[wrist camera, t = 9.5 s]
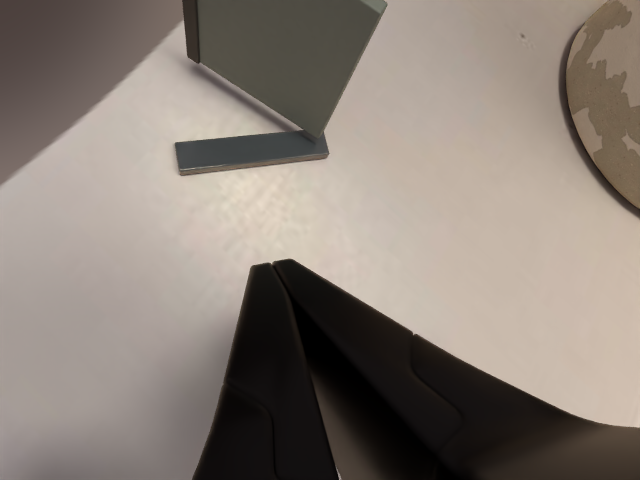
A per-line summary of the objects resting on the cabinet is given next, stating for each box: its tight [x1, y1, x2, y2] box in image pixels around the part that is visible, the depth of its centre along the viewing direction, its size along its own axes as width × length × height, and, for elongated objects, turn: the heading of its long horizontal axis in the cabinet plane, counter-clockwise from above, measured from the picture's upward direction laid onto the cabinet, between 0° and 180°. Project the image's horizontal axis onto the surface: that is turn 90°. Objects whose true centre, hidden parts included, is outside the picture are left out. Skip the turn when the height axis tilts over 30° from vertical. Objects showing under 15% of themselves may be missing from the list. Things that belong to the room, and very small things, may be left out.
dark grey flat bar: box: [175, 130, 329, 175], centre depth 23 cm, size 2×8×1 cm, turn 104°
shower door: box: [182, 0, 387, 138], centre depth 18 cm, size 1×8×9 cm, turn 60°
